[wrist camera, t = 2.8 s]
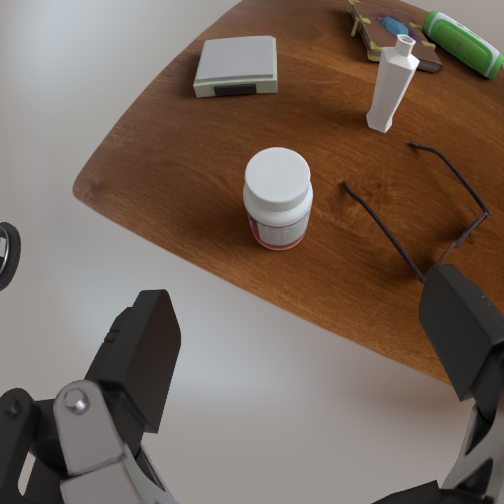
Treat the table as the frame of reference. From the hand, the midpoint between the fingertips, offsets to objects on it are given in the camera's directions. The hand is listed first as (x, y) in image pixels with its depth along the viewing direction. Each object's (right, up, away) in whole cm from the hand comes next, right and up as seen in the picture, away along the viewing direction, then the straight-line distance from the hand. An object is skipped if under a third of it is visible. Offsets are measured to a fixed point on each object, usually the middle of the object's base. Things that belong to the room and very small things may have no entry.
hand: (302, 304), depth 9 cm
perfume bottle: (+16, +20, +28) cm, 38 cm away
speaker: (+42, +43, +33) cm, 68 cm away
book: (+25, +45, +35) cm, 62 cm away
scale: (-4, +30, +33) cm, 45 cm away
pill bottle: (+2, +4, +25) cm, 26 cm away
